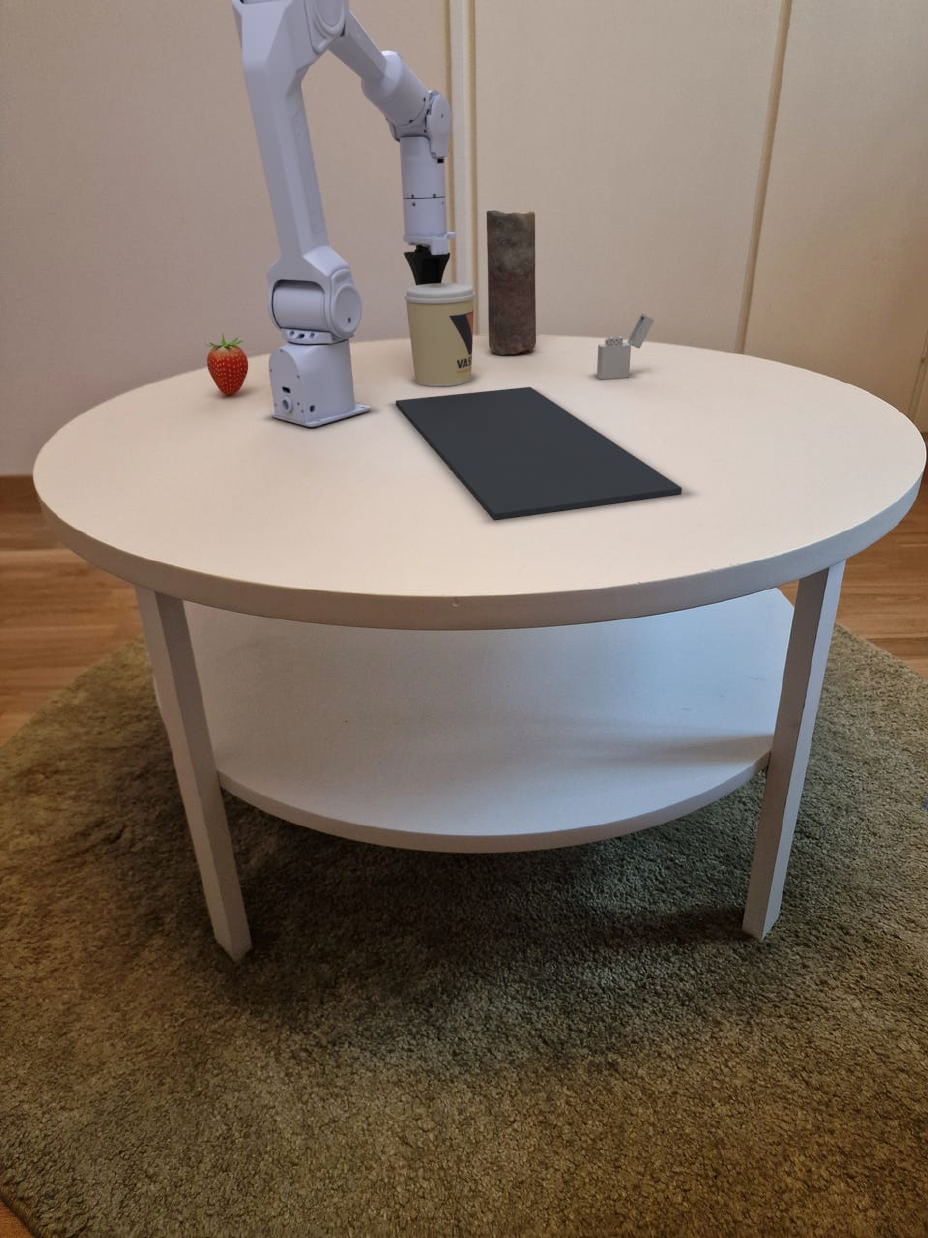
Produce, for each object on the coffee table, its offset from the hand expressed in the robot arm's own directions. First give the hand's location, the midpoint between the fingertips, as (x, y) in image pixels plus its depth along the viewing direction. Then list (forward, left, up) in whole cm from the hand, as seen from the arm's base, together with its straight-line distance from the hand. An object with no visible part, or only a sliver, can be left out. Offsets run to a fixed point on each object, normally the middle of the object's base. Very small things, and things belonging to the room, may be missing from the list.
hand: (429, 305), depth 119 cm
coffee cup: (-3, -5, -9) cm, 11 cm away
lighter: (+13, -24, -9) cm, 29 cm away
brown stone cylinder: (+17, -1, -9) cm, 19 cm away
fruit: (-26, +12, -9) cm, 30 cm away
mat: (-19, -31, -9) cm, 38 cm away
